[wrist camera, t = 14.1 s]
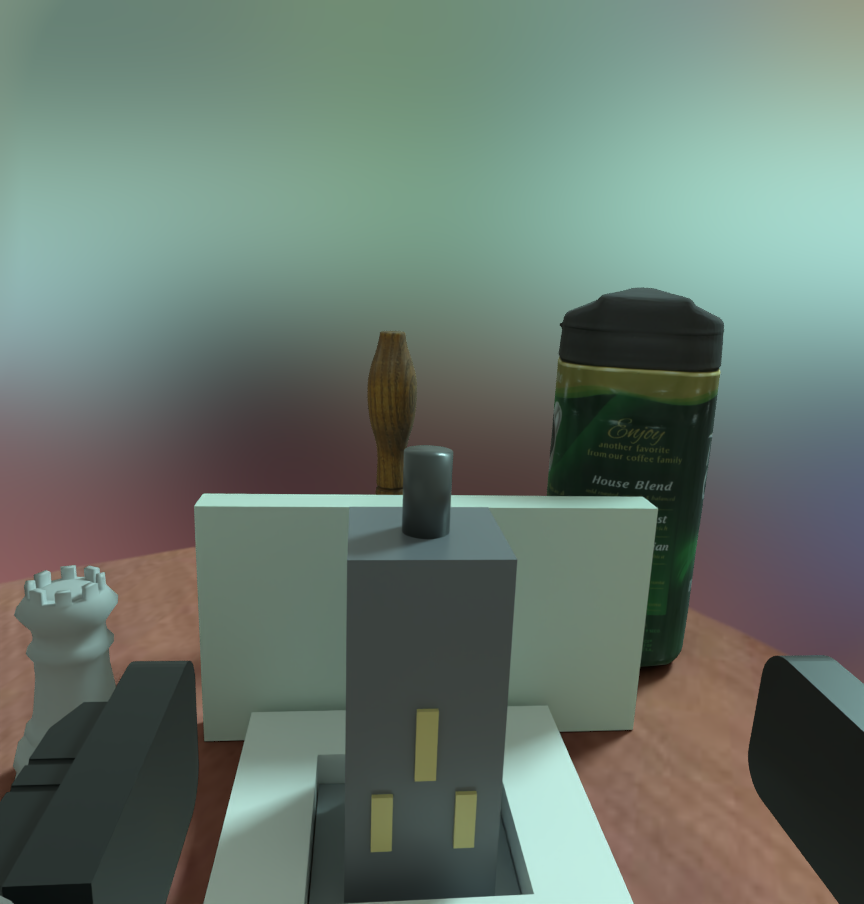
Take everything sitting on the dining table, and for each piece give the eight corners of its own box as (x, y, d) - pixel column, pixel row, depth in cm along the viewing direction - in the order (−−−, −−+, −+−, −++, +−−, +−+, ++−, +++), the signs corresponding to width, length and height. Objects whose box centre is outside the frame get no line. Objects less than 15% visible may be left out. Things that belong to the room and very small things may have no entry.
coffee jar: (692, 688, 34) (746, 291, 30) (527, 662, 36) (555, 284, 32) (675, 603, 44) (715, 290, 39) (544, 586, 45) (568, 284, 41)
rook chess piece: (-10, 787, 26) (-36, 583, 24) (103, 727, 30) (89, 546, 28) (57, 841, 24) (35, 620, 22) (172, 770, 28) (161, 575, 26)
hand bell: (317, 658, 36) (316, 336, 32) (315, 588, 44) (315, 324, 40) (478, 650, 37) (496, 340, 34) (449, 584, 45) (460, 328, 42)
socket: (93, 1068, 17) (56, 693, 15) (212, 717, 31) (203, 493, 28) (805, 1018, 19) (873, 677, 17) (620, 708, 33) (642, 496, 30)
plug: (343, 913, 21) (347, 472, 18) (346, 801, 26) (349, 433, 22) (495, 905, 22) (524, 473, 18) (471, 796, 26) (491, 435, 23)
